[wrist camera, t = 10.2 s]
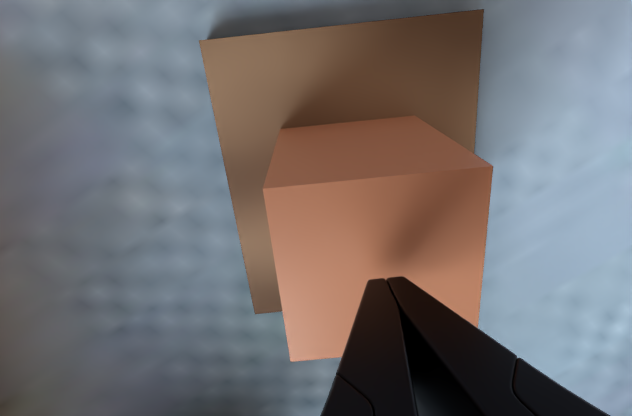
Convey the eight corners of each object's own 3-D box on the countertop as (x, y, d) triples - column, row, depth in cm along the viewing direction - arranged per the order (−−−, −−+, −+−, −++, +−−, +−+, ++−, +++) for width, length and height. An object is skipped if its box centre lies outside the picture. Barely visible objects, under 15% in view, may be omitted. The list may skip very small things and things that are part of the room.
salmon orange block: (413, 235, 17) (476, 344, 11) (295, 246, 17) (290, 362, 11) (414, 115, 15) (493, 166, 8) (280, 128, 15) (262, 188, 9)
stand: (456, 281, 19) (535, 403, 12) (257, 301, 19) (233, 432, 13) (472, 11, 14) (612, -17, 8) (205, 40, 14) (124, 38, 8)
